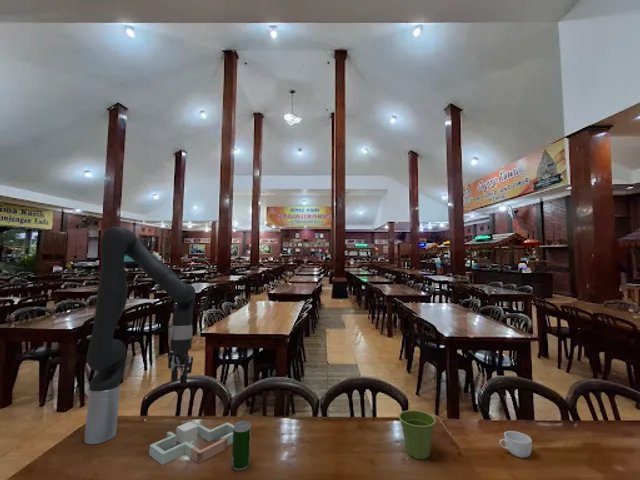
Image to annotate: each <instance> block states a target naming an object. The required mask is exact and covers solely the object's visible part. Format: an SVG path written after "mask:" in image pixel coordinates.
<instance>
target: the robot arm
mask: <svg viewBox="0 0 640 480" xmlns="http://www.w3.org/2000/svg"><path fill="white" fill-rule="evenodd" d="M100 242H101V248H100V249H101V250H100V252H101V253H100V254H101V256H100V258H101V261H100V270H99V271H100V272H99V280H98V287H97V288H98V289H97V292H96V293H97V294H96V303H95V313H94V319H93V328H92V332H91V336H90V340H89V343H88V344H89V345H88V348H87V352H86V353H87V355H86V362H87V365H88V366H89V369H91V370H93V371H95V372H97V373H96V374H95V376H94V377H93V378H92V379H90V382H89V388H88V399H87V400H88V401H87V409H86V417H85V418H86V420H85V432H84V439H83V442H84V443H85V444H86V445H98V444H101V443H105V442H107V441H108V442H109V440H111V439H113V438H114V437H115V436H116V435H117V427H118V419H119V418H118V414H119V403H120V402H119V401H120V393H121V392H120V391H121V383H122V382H121V381H122V378H123V377H124V373H125V366H126V357H127V348H126V345H125V343H124V342H123V341H122V340H120V339H117V338H116V339H114V334H115V333H114V332H115V328H116V326H117V324H118V322H119V320H120V319H121V317H122V314H123V313H124V311H125V308H126V306H127V298H128V291H129V287H128V281H127V276H126V272H125V268H124V265H125V262H124V261H125V256H127V257H129V258H130V259H132V260H134V262H135V263H137V264H138V266H139V267H140V268H141V269H142V270H143V271H144V273H145V274H146V275H147V276H148V277H149V278H150V279H151V280H152V281H153V282H155V283H156V284H157V285H158V286H159V287H161V288H162V289H163V290H164V291H165V292H166V294H167V295H168V296H169V297H170V298H171V299H172V301H175V302H176V304H175V305H176V306H175V310H174V311H173V313H172V320H171V321H172V324H171V330H170V342H169V351H170V352H168V354H167V357H168V358H167V362H168V363H167V365H168V366H167V367H168V369H169V370H170V372H171V375H170V381H171V382H172V383H174V382H177V381H178V379H179V385H180V386H186V385H187V380H188V374H191V373H192V371H193V365H194V364H193V363H194V357H193V356H189V351H190V350H191V349H192V348H193V345H192V344H193V330H194V329H193V317H194V316H193V315H194V312H193V311H194V307H195V303H196V296H197V295H196V289H195V286H193V285H192V284H190V283H184V281H182V280H181V279H180V278H179V277H178V275H177V274H176V272H174V271H173V269H171V268H170V267H169V266H167V265H166V264H165V263H164V262H163V261H161V260H160V259H159V258H158V257H157V256H155V255H154V254H153V253H152V252H151V251H150V250H149V249H148V248H147V247H146V246H145V245H144V244H143V243H142V242H141V240H140V239H139V238H138V236H136V234H135V233H134V232H133V231H131V230H129V229H127V228H124V227H120V226H110V227H108V228H107V229H106V230H105V231H104V232H103V233H102V236H101V240H100ZM179 371H180V377H179ZM178 377H179V378H178Z"/></svg>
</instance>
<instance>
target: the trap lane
mask: <svg viewBox="0 0 640 480" xmlns="http://www.w3.org/2000/svg"><path fill="white" fill-rule="evenodd" d="M191 422H192V421H191ZM192 423H194V424H196V425H197V426H198V431H197V437H200V438H202V439H204V440H206V441H207V442H211V441H214V442H213V444H210V445H207V446H206V447H205V448H202V449H200V448H198V447H196V446H194V445H193V444H192V443H191V442H189V443H188V442H187V441H186V442H184V443H182V444H181V443H180V444H177V442H178V441H177V435H176V434H175V433H174V432H172V431H167V432H166V438H163V439H161V440H159V441H156V442H154V443H152V444H149V450H148V451H149V452H148V453H149V454H148V455H149V457H151V458H152V459H154V460H155V461H156V462H157V463H159V464H160V465H162V466H163V465H165V464H167V463H169V462H171V461H173V460H175V459H177V458H179V457H181V456H183V455H185V456H187V457H188V458H189V459H191V460H192V461H194V462H195V463H197V464H200V463H202V462H205V461H206V460H208V459H210V458H212V457H215V456H216V455H218V454H220V453H222V452H224V451H226V450H227V449H228V446H230V445H231V444H233V428H234V424H232V423H230V422H228V421H227V422H225V423H222V424H221V425H218V426H216V427H214V428H212V429H209V428H207V427H206V426H204V425H202V424H200V423H198V422H196V421H193V422H192Z"/></svg>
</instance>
